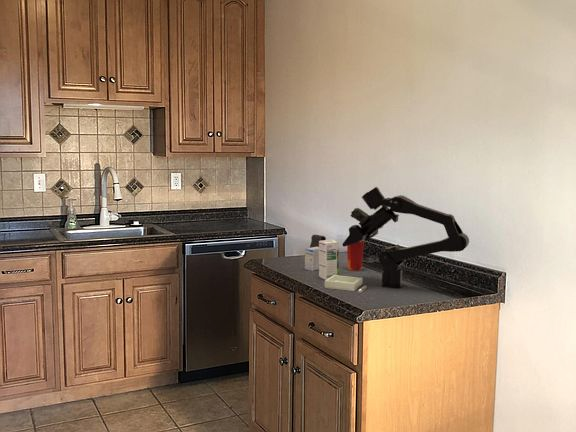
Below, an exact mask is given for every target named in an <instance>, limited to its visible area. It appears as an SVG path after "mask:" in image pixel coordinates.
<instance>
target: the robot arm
mask: <svg viewBox="0 0 576 432" xmlns="http://www.w3.org/2000/svg"><path fill="white" fill-rule="evenodd" d="M361 199H362V200H363V202H365V204H366V205H367V207H368V208H369V209H370V210H374V211H375V212H374V213H372V214H370V215H369V214H368V213H367V212H365V211H364V210H363V209H361V208H359V207H356V208H354V209H353V210H352V211H351V212H350V213H351V214H350V217H351V218H353V219H355V220H356V221H358V224H354V225H352V226H350V227H349V228H348V232H349V233H348V235H349V236H348V235H347V236H348V237H347V236H346V238H347V239H344V241H343V242H342V243H341V244H342V245H341V246H342V247H347V246H348V245H352V244H355V243H359V242H361V241H363V240H364V241H365V240H369V239H371V238H374V237H376V236H377V235H378V234H379V230H380V229H382V228H383V227H384V226H385V225H386V224H388V223H389V222H390V221H392V222H394V223H398V222H399V216H400V214H407V215H414V216H416V217H419V218H423V219H425V220H428V221H432V222H435V223H437V224H440V225H443V227H444V230H445V232H446V235H447V237H446V238H443V239H441V240H437V241H431V242H426V243H423V244H422V243H421V244H417V245H413V246H408V247H400V244H397V245H394V246H387V247H385V248H383V249H384V250H382V251H381V252H380V253H379V255H378V262H379V263H380V264H381V265H382V267H383V271H382V273H381V284H382V285H381V286H382V287H386V288H387V287H388V288H397V289H398V288H399V289H400V288H401V287H402V286H403V285H404V283H403V266H404V264H405V262H404V260H407V259H411V258H416V257H421V256H425V255H430V254H435V253H440V252H452V253H453V252H462V251H464V250H465V249H466V248H467V247H468V246H469V243H470V238H469V236H468V235H467V234H466V233H464V232H463V230H462V228H461V226H460V225H459V224H458V222H457V220H456V218H455V216H454V215H453V214H452V213H451V214H450V213H445V212H443V211H439V210H436V209H434V208H430V207H427V206H424V205H422V204H419V203H417V202H415V201H414V200H413V199H410V198H409V197H407V196H406V195H401V194H400V195H396V196H393V197H385V196H384V195H383V194H382V192H381V191H380V189H379V187H377V186H375V187H374V188H372V189H371V190H369V191H366V192H365V193H364V194H363V195H362V196H361ZM377 209H378V210H377ZM396 213H397V214H396ZM399 213H400V214H399Z"/></svg>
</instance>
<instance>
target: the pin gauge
mask: <svg viewBox="0 0 576 432" xmlns="http://www.w3.org/2000/svg"><path fill="white" fill-rule="evenodd" d="M367 287H368V286H367V285H362V287H360V288H358V290H357V293H358V294H361V293H363V291H365V290H367Z"/></svg>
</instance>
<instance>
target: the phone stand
mask: <svg viewBox="0 0 576 432" xmlns="http://www.w3.org/2000/svg"><path fill="white" fill-rule="evenodd" d="M310 240H311V241H310V245H309V248H312V247H319V241H324V240H327V237H326V236H324V235H319V234H312V235H311V239H310Z"/></svg>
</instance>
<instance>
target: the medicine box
mask: <svg viewBox="0 0 576 432" xmlns="http://www.w3.org/2000/svg"><path fill="white" fill-rule="evenodd" d="M304 270H306V271H309V272H310V271H311V272H314V271H317V270H318V271H319V247H312V248H310V247H309V248H305V249H304Z"/></svg>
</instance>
